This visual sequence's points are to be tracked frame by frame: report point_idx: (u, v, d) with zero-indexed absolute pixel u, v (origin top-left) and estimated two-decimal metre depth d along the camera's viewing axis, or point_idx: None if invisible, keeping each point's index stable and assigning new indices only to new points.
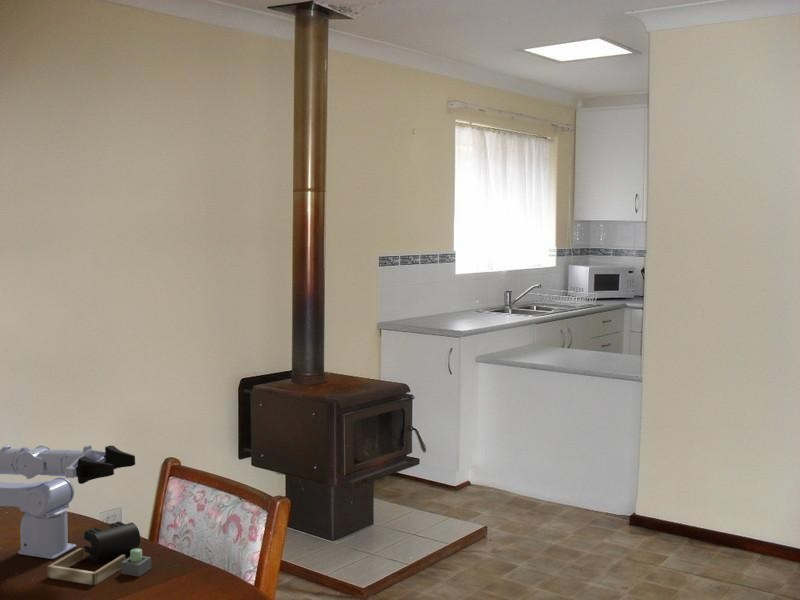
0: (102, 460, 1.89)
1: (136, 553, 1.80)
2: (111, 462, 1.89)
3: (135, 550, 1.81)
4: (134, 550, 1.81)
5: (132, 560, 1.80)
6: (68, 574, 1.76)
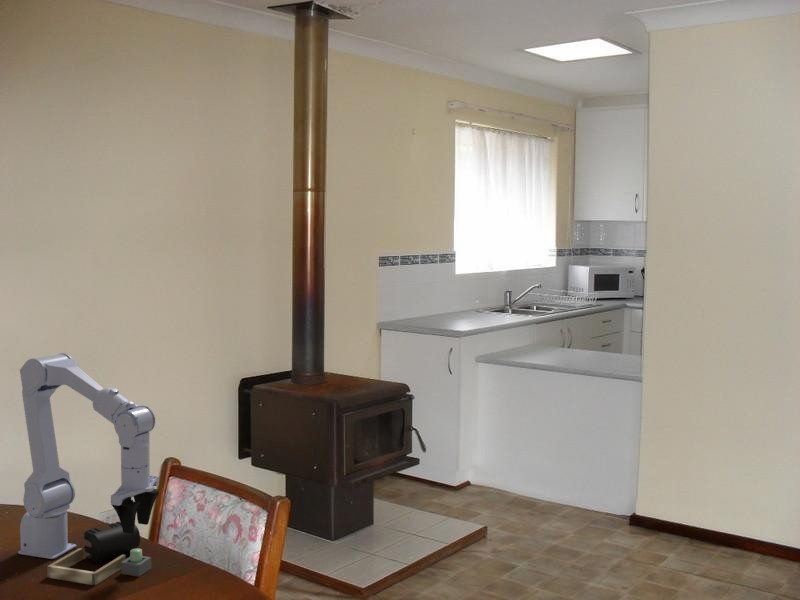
0: None
1: (136, 553, 1.80)
2: (140, 497, 1.83)
3: (135, 550, 1.81)
4: (134, 550, 1.81)
5: (132, 560, 1.80)
6: (68, 574, 1.76)
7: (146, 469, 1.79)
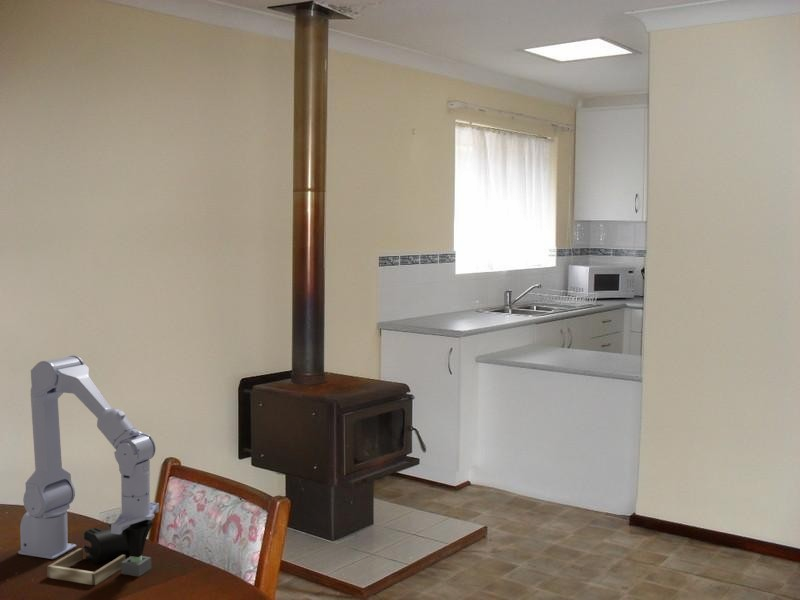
0: None
1: (136, 558, 1.80)
2: None
3: None
4: None
5: None
6: (68, 574, 1.76)
7: (146, 497, 1.79)
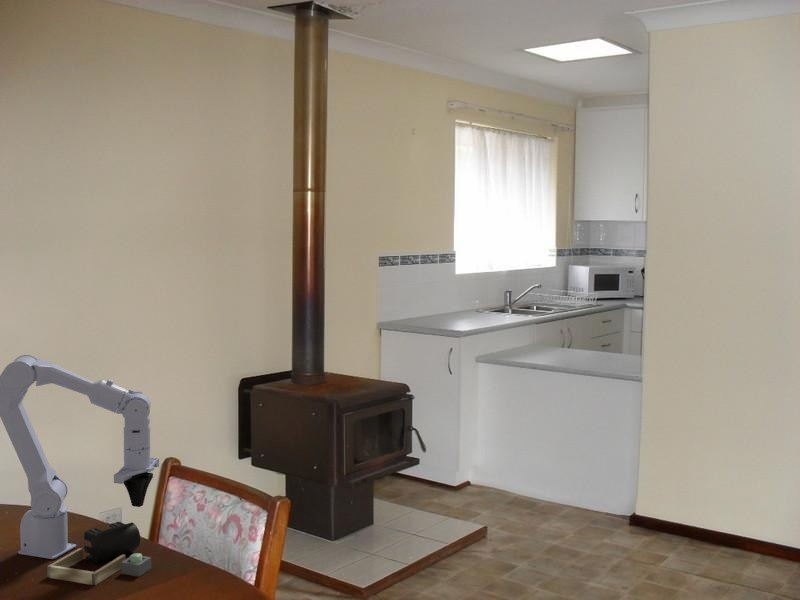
0: None
1: (136, 558, 1.80)
2: None
3: (135, 555, 1.81)
4: (134, 555, 1.81)
5: None
6: (68, 574, 1.76)
7: (147, 451, 1.92)
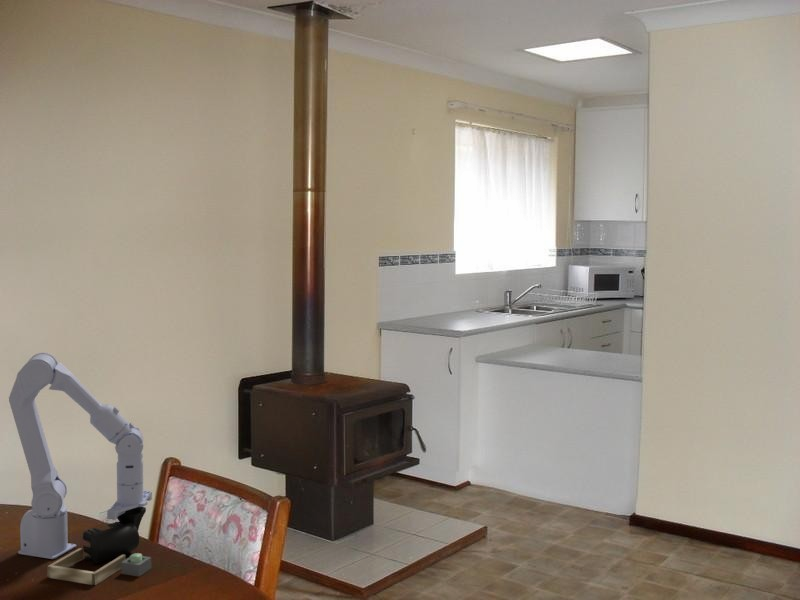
0: None
1: (136, 558, 1.80)
2: None
3: (135, 555, 1.81)
4: (134, 555, 1.81)
5: None
6: (68, 574, 1.76)
7: (140, 485, 1.94)
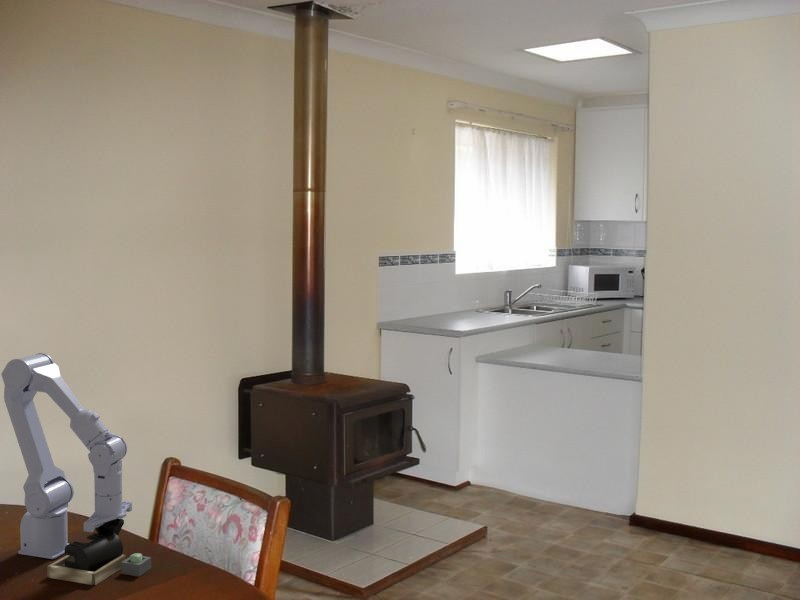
0: None
1: (136, 558, 1.80)
2: (105, 527, 1.88)
3: (135, 555, 1.81)
4: (134, 555, 1.81)
5: None
6: (68, 574, 1.76)
7: (118, 496, 1.86)
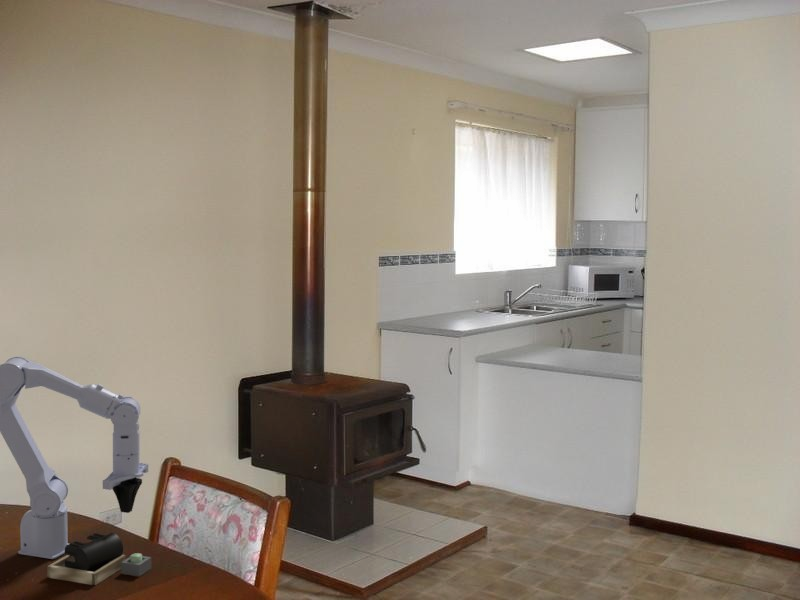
0: None
1: (136, 558, 1.80)
2: None
3: (135, 555, 1.81)
4: (134, 555, 1.81)
5: None
6: (68, 574, 1.76)
7: (136, 456, 1.91)
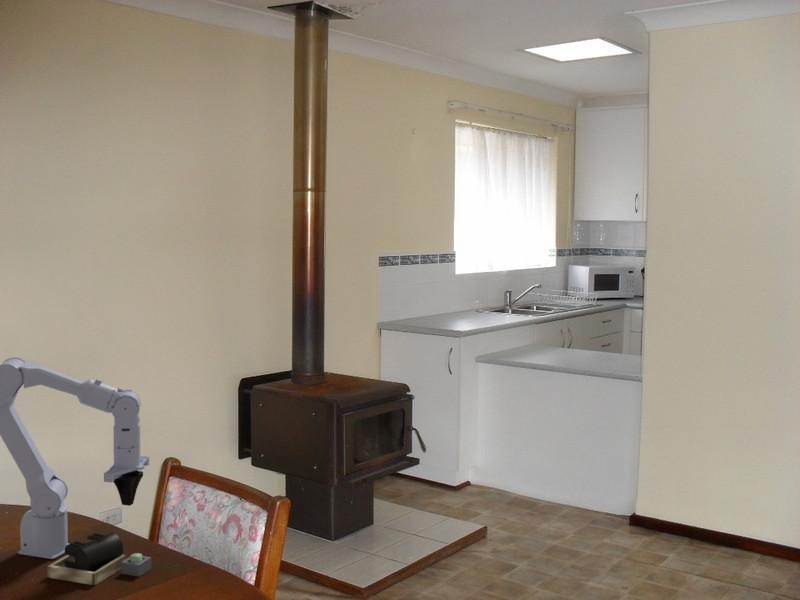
0: None
1: (136, 558, 1.80)
2: None
3: (135, 555, 1.81)
4: (134, 555, 1.81)
5: None
6: (68, 574, 1.76)
7: (137, 449, 1.92)
